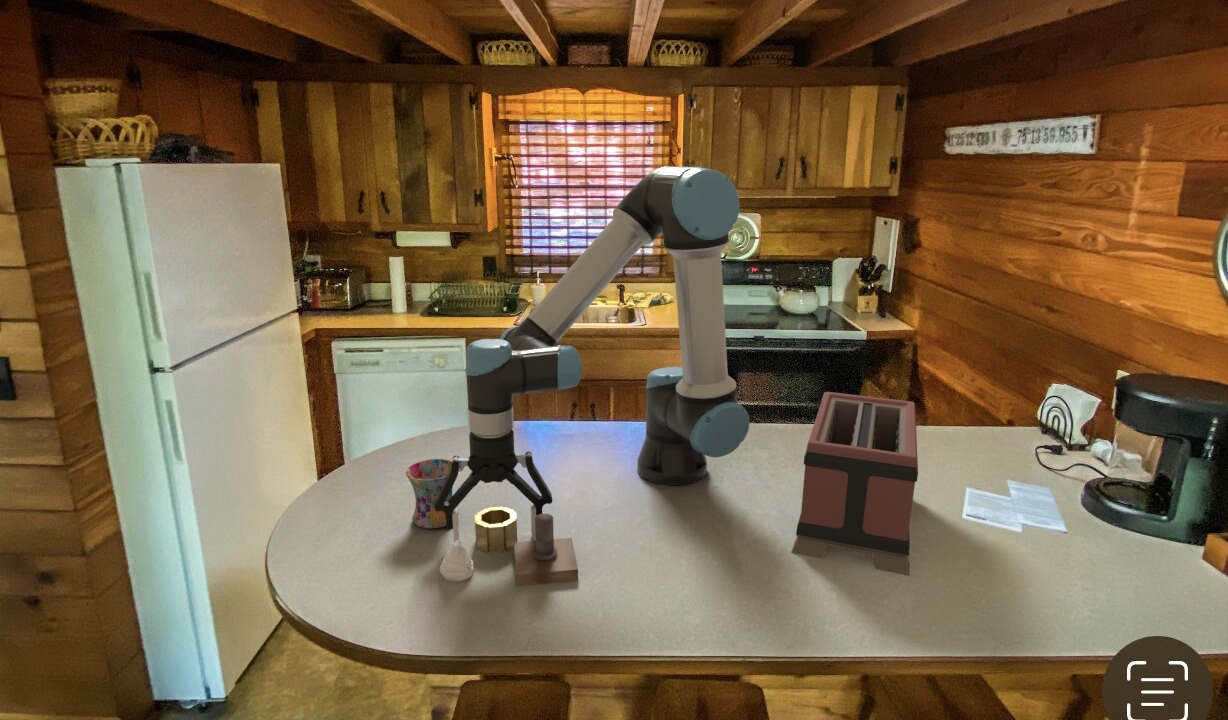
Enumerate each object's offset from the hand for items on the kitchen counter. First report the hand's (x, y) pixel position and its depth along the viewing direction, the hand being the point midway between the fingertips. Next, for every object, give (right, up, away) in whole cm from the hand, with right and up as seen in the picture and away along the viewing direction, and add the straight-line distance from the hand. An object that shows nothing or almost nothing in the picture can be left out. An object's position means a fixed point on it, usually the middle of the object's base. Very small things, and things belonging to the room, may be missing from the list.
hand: (495, 541), depth 128 cm
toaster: (+67, +2, +9) cm, 68 cm away
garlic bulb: (-5, -3, -9) cm, 11 cm away
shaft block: (+10, -2, -7) cm, 12 cm away
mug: (-12, +2, +9) cm, 15 cm away
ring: (0, 0, 0) cm, 0 cm away
